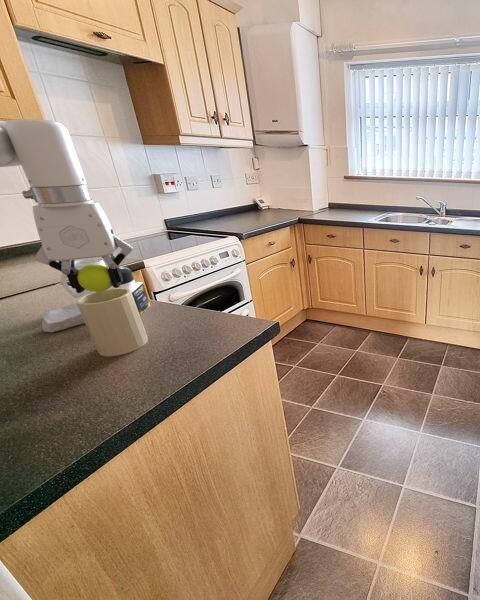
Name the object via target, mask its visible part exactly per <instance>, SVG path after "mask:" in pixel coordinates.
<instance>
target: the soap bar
mask: <svg viewBox="0 0 480 600" xmlns="http://www.w3.org/2000/svg"><path fill="white" fill-rule="evenodd" d="M41 322H42V323H41V325H42V329H43V331H44V332H46V333H55V332H60V331H64V330H66V329H70V328H73V327H76V326H79V325H83V324H85V322H84V319H83V317H82V315H81V313H80V310H79V308H78V306H77V303H76V302H73V303H71V304H68V305H66V306H61V307H60V308H55V309H52V310H49V311H46V312H44V313H43V315H42V321H41Z"/></svg>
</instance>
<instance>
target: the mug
mask: <svg viewBox="0 0 480 600" xmlns="http://www.w3.org/2000/svg"><path fill="white" fill-rule="evenodd" d="M91 264H100V265H103V266H106V262H105V261H104V260H103V258H102V257H94V258H85V259H79V260H75V268H76V270H79V271H80V270H81V269H82V268H83V267H85V266H87V265H91ZM67 279H68V277H67V275H66V274H63V273H62V272H61V274H60V284H61V286H62V288H63V289H64V290H65V291H66V292H68V294H69V295H71V296H72V297H73V298H75V299H76V298H77V299H78V298H80V297H82V296H84V295H87V294H89V293H92V292H93V291H89V290H86V289H85V290H84V291H83V292H82V293H77V292H76V290H74V289H73V288H72V287H71V286H69V284H68V282H67Z"/></svg>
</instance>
